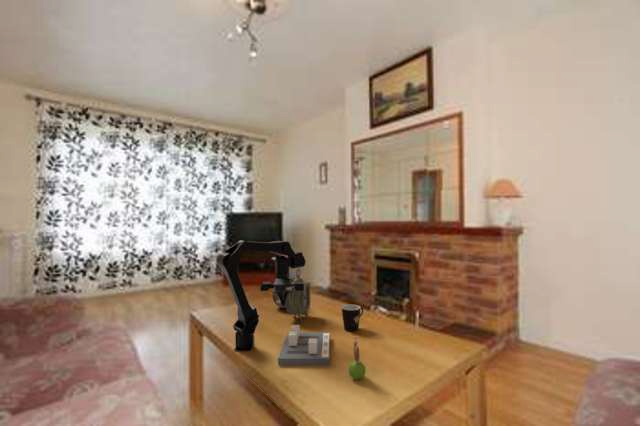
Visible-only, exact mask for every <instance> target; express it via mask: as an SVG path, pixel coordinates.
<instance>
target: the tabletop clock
mask: <svg viewBox="0 0 640 426" xmlns="http://www.w3.org/2000/svg"><path fill="white" fill-rule="evenodd" d="M298 272H301V269H300V268H296V273H295V276H296V278H295V279H293V281H292V282H293V283H292V284H295V283H296V282H302V281H304V280H303V278H301V277H300V276H301V273H298ZM304 283H305V289H304V290H303V291H296V290H295V288H292V291H291V292H290V293H288V295H287V299H286V308H285V310H286V312H287V313H288V314H290V315H293V316H292V318H293V319H294V320H295V319H297V315H298V318H299V323H303V319H302V316H301V315H304V316H308V315H309V313H308V312H309V310H310V308H311V284H310V282H306V281H304Z"/></svg>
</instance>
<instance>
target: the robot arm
mask: <svg viewBox="0 0 640 426" xmlns="http://www.w3.org/2000/svg"><path fill="white" fill-rule="evenodd" d="M291 245H292V244H291V243H290V242H289V241H285V240H275V241H270V242H269V241H268V242H265V241H248V240H247V241H246V240H243V239H242V240H241V239H240V240H238V241H237V242H236V243H235V244H233V245H231V246H230V247H229V248H227V249H225V251H224V252H223V251H222V252H221V253H219V254H218V255H217V257H216V264H217V266H218V268H219V269H220V271H222V273H223V274H224V276H225V277H226V280H227V283H228V286H229V288H230V290H231V293H232V296H233V299H234V301H235V303H236V307H237V314H236V315H237V320H236V321H235V322H234V324H233V325H232V327H233V330H234V331H235V334H234V335H235V347H234V351H236V352H237V351H243V352H244V351H247V352H249V351H251V350H252V348H253V347H254V346H255V331H256V329H257V326H258V324H259V322H260V319H259V318H260V315H259V314H258V309H257V308H256V307H255V306H253V305H250V303H249V301H248V297H247V296H246V292H245V290H244V287H243V283H242V282H241V279H240V276H239V263H238V262H239V261H240V260H241V259H242V257H243V256H244V254H245V253H246V252H247V251H250V252H252V251H253V252H269V253H274V255H273V256H272V257H271V259H270V260H271V261H275V278H274V279H275V280H274V282H273V283H272V281H263V282H262V283H261V284H260V286H259V287H260V291H261V292H267V291H270V289H274V293H277V295H278V296H279V299H280V301H281V304H282V306H284V305H285V302H286V299H287V295H288V293H290V292H291V291H292V288H295V290H296V291H303V290H304V289H305V283H304V282H305V281H304V280H303V281H302V282H296V283H295V284H291V282H292V278H290V269H291V270H293V269H300V268H303V267H305V266H306V259H305V257H304V255H303V252H301V251H299V252H295V251H294V249H293V248H292V246H291ZM283 291H284V298H283Z"/></svg>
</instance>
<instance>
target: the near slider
mask: <svg viewBox="0 0 640 426" xmlns="http://www.w3.org/2000/svg"><path fill="white" fill-rule="evenodd" d="M308 348H309V354H317V338H309V342H308Z"/></svg>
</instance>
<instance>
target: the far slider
mask: <svg viewBox="0 0 640 426" xmlns="http://www.w3.org/2000/svg"><path fill="white" fill-rule="evenodd" d="M300 330H301V329H300V324H292V325H291V327H290V331H298V338H299V335H300V333H301V332H300Z"/></svg>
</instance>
